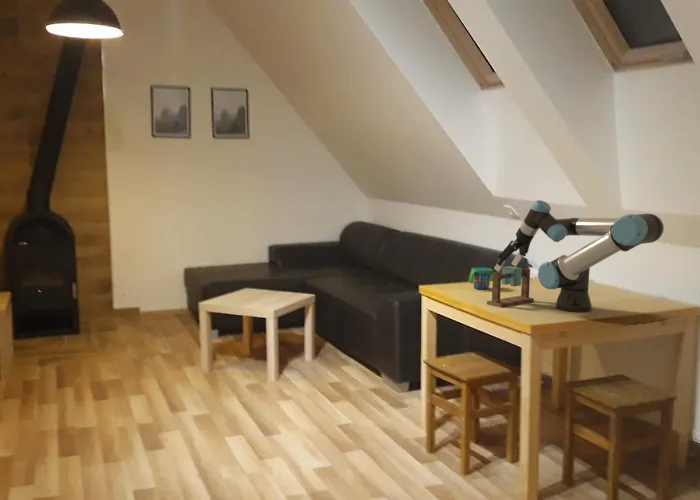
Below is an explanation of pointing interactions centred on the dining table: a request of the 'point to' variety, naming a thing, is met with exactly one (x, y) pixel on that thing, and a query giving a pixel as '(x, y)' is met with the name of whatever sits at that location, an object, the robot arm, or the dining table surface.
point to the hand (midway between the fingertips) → (505, 267)
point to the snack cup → (481, 277)
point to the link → (512, 276)
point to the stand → (512, 300)
